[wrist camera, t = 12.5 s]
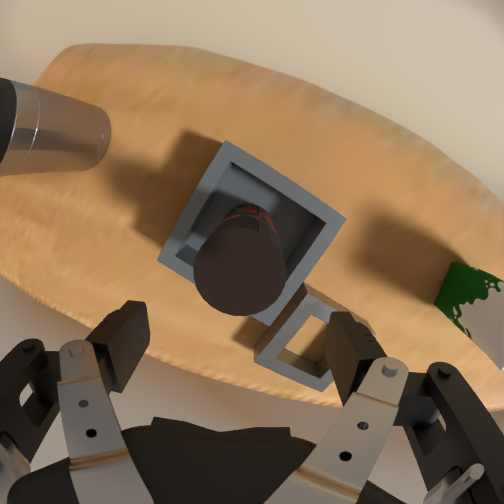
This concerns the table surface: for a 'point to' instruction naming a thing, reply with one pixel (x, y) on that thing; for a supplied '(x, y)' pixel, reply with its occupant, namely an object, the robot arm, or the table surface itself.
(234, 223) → the deodorant
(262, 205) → the bin
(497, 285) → the milk carton
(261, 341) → the socket collar
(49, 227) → the table surface
